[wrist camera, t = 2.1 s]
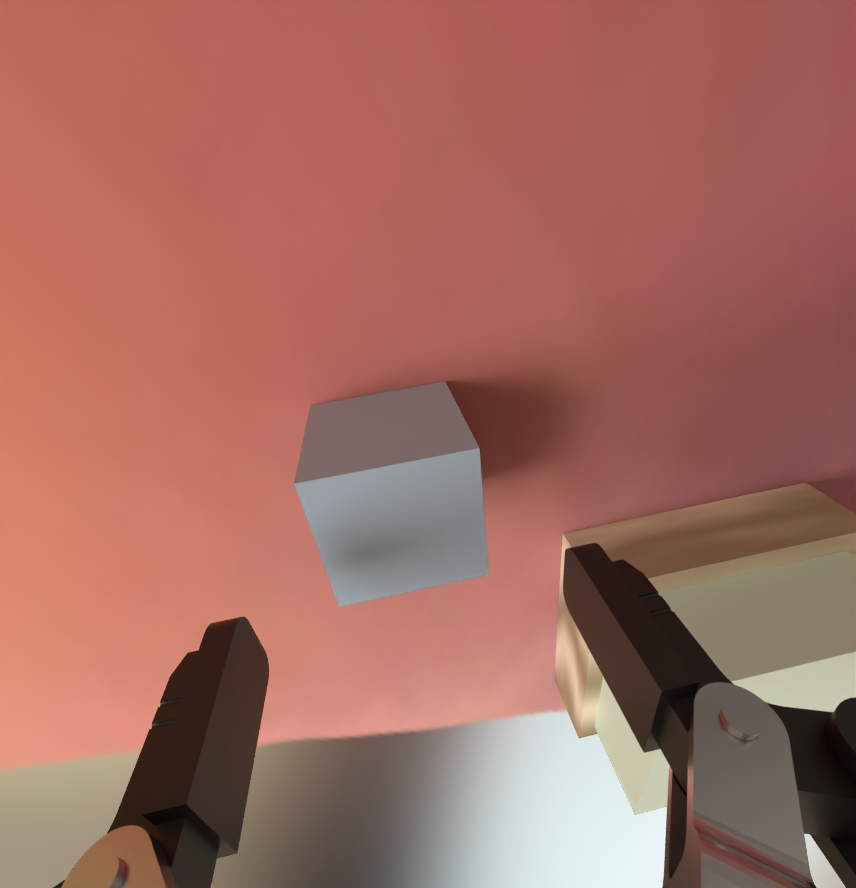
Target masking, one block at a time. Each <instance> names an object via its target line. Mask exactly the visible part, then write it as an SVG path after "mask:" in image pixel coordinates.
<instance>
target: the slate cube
mask: <svg viewBox="0 0 856 888" xmlns="http://www.w3.org/2000/svg"><path fill="white" fill-rule="evenodd" d="M294 485H295V488H296V490H297V493H298V496H299V498H300V501H301V504H302V507H303V509H304V512H305V515H306V518H307V520H308V523H309V526H310V529H311V531H312V534H313V537H314V539H315V542H316V545H317V548H318V550H319V553H320V556H321V559H322V561H323V564H324V567H325V570H326V572H327V575H328V578H329V581H330V583H331V586H332V589H333V591H334V594H335V597H336V600H337V602H338V605H339V607H341V606H346V605H350V604H355V603H360V602H364V601H369V600H374V599H378V598H383V597H388V596H392V595H397V594H401V593H406V592H411V591H415V590H420V589H425V588H429V587H434V586H439V585H443V584H448V583H453V582H457V581H462V580H467V579H471V578H476V577H481V576H485V575H489V571H488V558H487V544H486V530H485V517H484V503H483V489H482V475H481V462H480V448H479V446H478V444H477V442H476V440H475V438H474V436H473V434H472V433H471V431H470V429H469V427H468V425H467V423H466V421H465V419H464V417H463V415H462V413H461V411H460V409H459V407H458V405H457V403H456V401H455V399H454V397H453V396H452V394H451V392H450V390H449V388H448V386H447V384H446V382H445V381H443V382H437V383H432V384H426V385H421V386H415V387H410V388H404V389H398V390H393V391H387V392H382V393H376V394H371V395H365V396H360V397H354V398H348V399H343V400H337V401H332V402H326V403H321V404H315V405H310V410H309V415H308V420H307V425H306V429H305V434H304V439H303V444H302V449H301V453H300V458H299V463H298V468H297V473H296V477H295V482H294Z"/></svg>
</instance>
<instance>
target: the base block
mask: <svg viewBox="0 0 856 888" xmlns="http://www.w3.org/2000/svg"><path fill="white" fill-rule="evenodd" d="M590 543H597V544H599V545H600V546H601V547H602V549H603V550H604V551H605V553H606V554H607V555H608V557H609V558H610V559H611V561H612V562H613V561H617V560H622V559H623V560H625V561H626V562H628V563H629V564H631V565H632V566H634V567H635V568H637V569H638V570H639V571H641V572H642V573H644V575H645V576H646V577H647V578H648V580H649V581H650V582H651V583H652V585H653V586H654V587H655V588H656V590H657V591H658V592H663V591H667V590H672V589H676V588H681V587H685V586H690V585H694V584H699V583H703V582H708V581H712V580H717V579H721V578H726V577H730V576H735V575H739V574H744V573H748V572H753V571H757V570H762V569H766V568H771V567H775V566H780V565H784V564H789V563H793V562H797V561H802V560H806V559H811V558H815V557H820V556H824V555H829V554H833V553H838V552H842V551H847V552H848V553H849V554H851V555H852V556H854V557H855V558H856V513H854V512H852V511H851V510H849V509H848V508H846V507H844V506H843V505H841V504H840V503H838V502H836V501H835V500H833V499H831V498H830V497H828V496H827V495H825V494H823V493H822V492H820V491H819V490H817V489H815V488H814V487H812V486H811V485H809V484H807V483H801V484H797V485H792V486H787V487H782V488H777V489H773V490H768V491H763V492H758V493H754V494H749V495H744V496H739V497H734V498H730V499H725V500H720V501H715V502H711V503H706V504H701V505H696V506H691V507H687V508H682V509H677V510H672V511H668V512H663V513H658V514H653V515H648V516H644V517H639V518H634V519H629V520H625V521H620V522H615V523H610V524H605V525H601V526H596V527H591V528H586V529H582V530H577V531H572V532H567V533H563V539H562V556H561V574H560V591H559V608H558V625H557V643H556V660H555V677H554V680H555V683H556V685H557V687H558V690H559V692H560V694H561V697H562V699H563V702H564V704H565V706H566V709H567V711H568V713H569V716H570V718H571V721H572V723H573V725H574V728H575V730H576V732H577V735H578V737H579V738H582V737H586V736H590V735H594V734H598V733H597V731H596V729H595V722H596V716H597V710H598V704H599V698H600V692H601V686H602V680H603V675H602V673H601V671H600V670H599V668H598V666H597V664H596V662H595V660H594V658H593V656H592V654H591V653H590V651H589V649H588V647H587V645H586V643H585V641H584V639H583V638H582V636H581V634H580V632H579V630H578V628H577V626H576V624H575V622H574V621H573V619H572V617H571V615H570V613H569V611H568V608H567V606H566V603H565V599H564V595H563V575H564V557H565V550H566V549H567V548H571V547H576V546H581V545H585V544H590Z"/></svg>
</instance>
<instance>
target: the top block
mask: <svg viewBox="0 0 856 888" xmlns="http://www.w3.org/2000/svg"><path fill="white" fill-rule="evenodd" d="M658 594H659V596H662V597H663V599H664V600H665V601H666V602H667V604H668V605H669V606H670V609H671V611H674V613H675V614H676V615H677V616H678V618H679V619H680V620H681V621H682V623H683V624H684V625H685V626H686V628H687V629H688V630H689V632H690V633H691V634H692V635H693V637H694V638H695V639H696V640H697V642H698V643H699V644H700V645H701V647H702V648H703V649H704V651H705V652H706V653H707V654H708V656H709V657H710V658H711V659H712V661H713V662H714V663H715V664H716V666H717V667H718V668H719V669H720V671H721V672H722V673H723V674H724V675H725V676H726V677H727V678H728V679H729V680H730V681H731V682H732V683H733V684H734V685H737V686H739V687H742V688H744V689H746V690H748V691H750V692H752V693H754V694H755V695H756V696H758V697H759V698H761V699H762V700H763V701H764V702H767V703H770V704H774V705H778V706H784V707H792V708H801V709H809V710H818V711H827V712H834V711H835V709H836V708H837V706H838V705H839V704H840V703H841V702H842V701H844V700H845V699H849V698H855V697H856V558H855V557H854V556H852V555H851V554H849V553H848V552H847V551H842V552H838V553H833V554H829V555H824V556H820V557H815V558H811V559H806V560H802V561H797V562H793V563H789V564H784V565H780V566H775V567H771V568H766V569H762V570H757V571H753V572H748V573H744V574H739V575H735V576H730V577H726V578H721V579H717V580H712V581H708V582H703V583H699V584H694V585H690V586H685V587H681V588H676V589H672V590H667V591H663V592H658ZM595 729H596V731H597V733H598V735H599V737H600V740H601V742H602V744H603V746H604V748H605V751H606V753H607V755H608V757H609V759H610V761H611V764H612V766H613V768H614V770H615V772H616V775H617V776H618V779H619V781H620V783H621V785H622V788H623V790H624V792H625V794H626V796H627V799H628V801H629V803H630V805H631V807H632V809H633V812H634V814H635V815H636V814H640V813H644V812H648V811H652V810H655V809H659V808H663V807H667V799H668V778H669V767H670V765H669V764H668V762H667V760H666V758H665V756H664V755H663V753H662V751H661V749H658V750H654V751H650V752H646V753H644V752H643V750H642V749H641V747H640V745H639V743H638V741H637V739H636V737H635V735H634V734H633V732H632V730H631V728H630V726H629V724H628V722H627V720H626V718H625V717H624V715H623V713H622V711H621V709H620V707H619V705H618V703H617V702H616V700H615V698H614V696H613V694H612V692H611V690H610V688H609V686H608V685H607V683H606V681H605V679H604V677H603V680H602V686H601V692H600V698H599V704H598V710H597V716H596V722H595Z"/></svg>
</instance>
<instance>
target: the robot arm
mask: <svg viewBox="0 0 856 888" xmlns="http://www.w3.org/2000/svg"><path fill="white" fill-rule="evenodd" d="M563 595H564V599H565V603H566V606H567V608H568V611H569V613H570V615H571V617H572V619H573V621H574V622H575V624H576V626H577V628H578V630H579V632H580V634H581V636H582V638H583V639H584V641H585V643H586V645H587V647H588V649H589V651H590V653H591V654H592V656H593V658H594V660H595V662H596V664H597V666H598V668H599V670H600V671H601V673H602V675H603V677H604V679H605V681H606V683H607V685H608V686H609V688H610V690H611V692H612V694H613V696H614V698H615V700H616V702H617V703H618V705H619V707H620V709H621V711H622V713H623V715H624V717H625V718H626V720H627V722H628V724H629V726H630V728H631V730H632V732H633V734H634V735H635V737H636V739H637V741H638V743H639V745H640V747H641V749H642V750H643V752H644V753H646V752H650V751H654V750H658V749H661V751H662V753H663V755H664V756H665V758H666V760H667V762H668V764H669V765H670V767H669V778H668V799H667V820H666V842H665V862H664V879H663V887H662V888H816V886H815V885H814V882H813V880H812V877H811V873H810V869H809V863H808V856H807V850H806V843H805V837H804V833H806V834H810V835H811V836H812V838H813V839H814V841H815V842H816V844H817V845H818V847H819V848H820V850H821V851H822V853H823V854H824V855H825V857H826V859H827V860H828V861H829V863H830V864H831V866H832V867H833V869H834V870H835V872H836V873H837V875H838V876H839V878H840V879H841V881H842V882H843V884H844V885H845V887H846V888H856V697H855V698H849V699H845V700H844V701H842V702H841V703H840V704H839V705H838V706H837V708H836V709H835V711H834V712H827V711H818V710H809V709H801V708H792V707H784V706H778V705H774V704H770V703H767V702H764V701H763V700H762V699H761V698H759V697H758V696H756V695H755V694H754V693H752V692H750V691H748V690H746V689H744V688H742V687H739V686H737V685H734V684H733V683H732V682H731V681H730V680H729V679H728V678H727V677H726V676H725V675H724V674H723V673H722V672H721V671H720V669H719V668H718V667H717V666H716V664H715V663H714V662H713V661H712V659H711V658H710V657H709V656H708V654H707V653H706V652H705V651H704V649H703V648H702V647H701V645H700V644H699V643H698V642H697V640H696V639H695V638H694V637H693V635H692V634H691V633H690V632H689V630H688V629H687V628H686V626H685V625H684V624H683V623H682V621H681V620H680V619H679V618H678V616H677V615H676V614H675V613H674V611H671V609H670V606H669V605H668V604H667V602H666V601H665V600H664V599H663V597H662V596H659V594H658V591H657V590H656V588H655V587H654V586H653V585H652V583H651V582H650V581H649V580H648V578H647V577H646V576H645V575H644V573H642V572H641V571H639V570H638V569H637V568H635V567H634V566H632V565H631V564H629V563H628V562H626V561H625V560H623V559H622V560H617V561H613V562H612V561H611V559H610V558H609V557H608V555H607V554H606V553H605V551H604V550H603V549H602V547H601V546H600V545H599V544H597V543H590V544H585V545H581V546H576V547H571V548H567V549H566V550H565V557H564V575H563ZM268 678H269V664H268V658H267V655H266V652H265V650H264V648H263V646H262V645H261V643H260V641H259V639H258V637H257V636H256V634H255V632H254V630H253V628H252V626H251V625H250V623H249V621H248V619H247V618H246V617H239V618H234V619H230V620H225V621H220V622H216V623H212V624H210V625H209V626H208V627H207V629H206V631H205V634H204V636H203V639H202V642H201V645H200V648H199V651H194V652H189V653H187V655H186V656H185V657H184V659H183V660H182V661H181V663H180V664H179V665H178V667H177V668H176V669H175V671H174V672H173V673H172V675H171V676H170V678H169V681H168V683H167V686H166V689H165V691H164V694H163V696H162V699H161V701H160V703H161V705H160V707H158V709H157V712H156V714H155V717H154V719H153V722H152V729H150V730H149V732H148V735H147V737H146V740H145V743H144V745H143V748H142V750H141V753H140V755H139V758H138V761H137V763H136V766H135V768H134V771H133V773H132V776H131V779H130V781H129V784H128V786H127V789H126V791H125V794H124V797H123V799H122V802H121V805H120V807H119V810H118V812H117V815H116V817H115V819H114V821H113V823H112V825H111V827H110V829H109V831H108V833H107V834H106V835H105V836H103V837H102V838H101V839H99V840H98V841H97V842H96V843H94V844H93V845H92V846H91V847H90V848H89V849H88V850H87V851H86V852H85V853H84V854H83V856H82V857H81V858H80V859H79V860H78V862H77V863H76V864H75V865H74V867H73V868H72V870H71V871H70V873H69V874H68V876H67V878H66V879H65V880H64V881H62V882H61V883H59V884H58V885H56V886H55V887H53V888H213V886H212V884H211V883H212V879H213V874H214V869H215V864H216V859H217V858H220V857H224V856H229V855H232V854H237V851H238V846H239V841H240V835H241V830H242V824H243V818H244V812H245V807H246V802H247V796H248V790H249V785H250V779H251V773H252V768H253V762H254V757H255V752H256V746H257V740H258V735H259V729H260V724H261V718H262V712H263V707H264V701H265V696H266V690H267V685H268Z"/></svg>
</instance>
